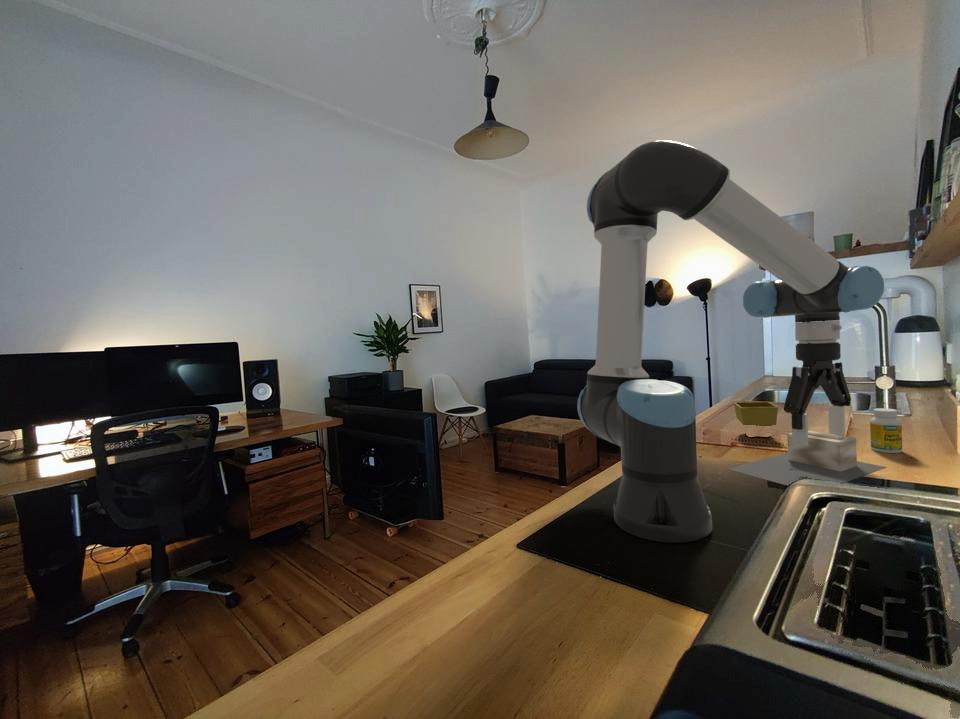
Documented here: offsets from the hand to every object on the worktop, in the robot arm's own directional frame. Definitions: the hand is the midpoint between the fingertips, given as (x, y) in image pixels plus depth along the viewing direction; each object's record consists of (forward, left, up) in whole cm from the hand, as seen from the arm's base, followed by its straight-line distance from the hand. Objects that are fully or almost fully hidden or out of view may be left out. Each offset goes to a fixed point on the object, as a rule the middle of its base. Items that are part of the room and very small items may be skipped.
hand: (819, 439), depth 91 cm
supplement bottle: (+21, -3, -6) cm, 22 cm away
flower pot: (+13, +22, -6) cm, 27 cm away
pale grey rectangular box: (0, 0, -5) cm, 5 cm away
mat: (-6, 0, -6) cm, 8 cm away
